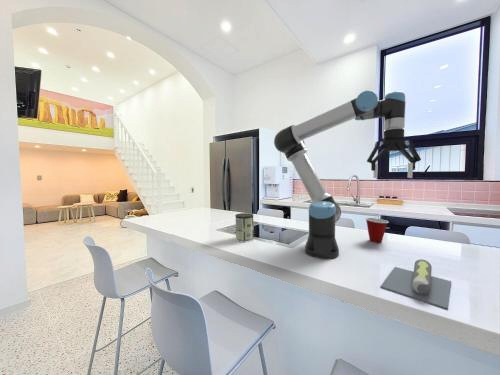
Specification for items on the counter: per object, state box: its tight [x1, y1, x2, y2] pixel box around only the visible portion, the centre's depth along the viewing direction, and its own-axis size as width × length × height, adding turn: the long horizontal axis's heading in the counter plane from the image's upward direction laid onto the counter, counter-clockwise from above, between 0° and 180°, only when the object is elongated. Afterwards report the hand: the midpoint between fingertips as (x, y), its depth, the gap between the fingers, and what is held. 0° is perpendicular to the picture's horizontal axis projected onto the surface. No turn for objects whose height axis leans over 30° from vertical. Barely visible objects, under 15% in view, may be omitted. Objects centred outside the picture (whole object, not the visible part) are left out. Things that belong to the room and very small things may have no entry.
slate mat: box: [380, 266, 452, 310], centre depth 70 cm, size 20×16×1 cm
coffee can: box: [234, 212, 254, 242], centre depth 121 cm, size 10×10×14 cm
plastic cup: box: [365, 217, 389, 243], centre depth 115 cm, size 11×11×12 cm
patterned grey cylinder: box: [412, 258, 432, 294], centre depth 71 cm, size 5×5×20 cm
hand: (392, 178), depth 94 cm, fingers open, 13 cm apart
